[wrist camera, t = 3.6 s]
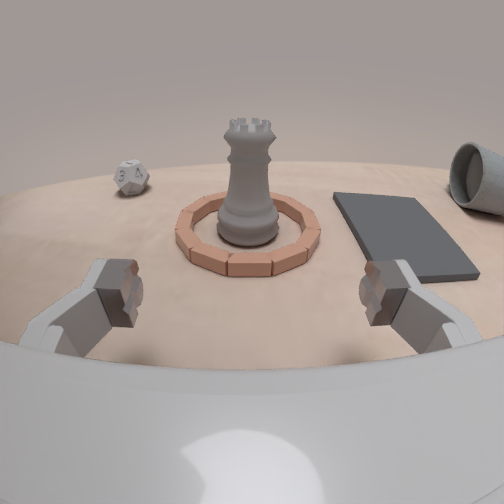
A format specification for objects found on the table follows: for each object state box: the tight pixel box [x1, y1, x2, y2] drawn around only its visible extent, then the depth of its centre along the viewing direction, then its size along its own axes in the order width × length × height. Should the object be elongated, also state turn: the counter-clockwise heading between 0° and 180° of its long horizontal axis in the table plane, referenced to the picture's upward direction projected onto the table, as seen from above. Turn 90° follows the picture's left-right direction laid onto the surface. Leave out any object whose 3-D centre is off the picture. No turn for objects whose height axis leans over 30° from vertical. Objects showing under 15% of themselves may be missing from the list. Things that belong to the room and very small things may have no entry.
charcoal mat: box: [333, 192, 480, 283], centre depth 22 cm, size 9×12×1 cm
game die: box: [113, 159, 150, 196], centre depth 27 cm, size 4×4×3 cm
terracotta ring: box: [175, 191, 321, 277], centre depth 22 cm, size 10×10×1 cm
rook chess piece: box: [217, 118, 279, 247], centre depth 20 cm, size 4×4×8 cm
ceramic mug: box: [450, 142, 504, 215], centre depth 27 cm, size 11×8×8 cm
